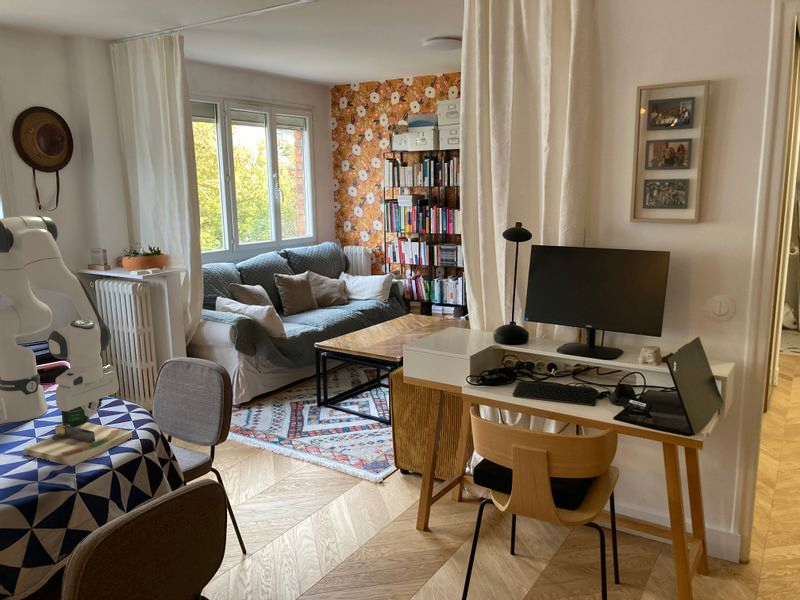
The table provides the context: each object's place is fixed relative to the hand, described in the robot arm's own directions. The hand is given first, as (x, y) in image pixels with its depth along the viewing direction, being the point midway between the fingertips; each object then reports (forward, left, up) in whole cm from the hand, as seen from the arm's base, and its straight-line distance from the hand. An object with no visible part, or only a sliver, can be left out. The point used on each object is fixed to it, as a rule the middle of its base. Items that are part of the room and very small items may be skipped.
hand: (90, 414), depth 195 cm
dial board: (0, -5, -9) cm, 10 cm away
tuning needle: (-2, -5, -6) cm, 8 cm away
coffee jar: (-15, +6, -9) cm, 19 cm away
